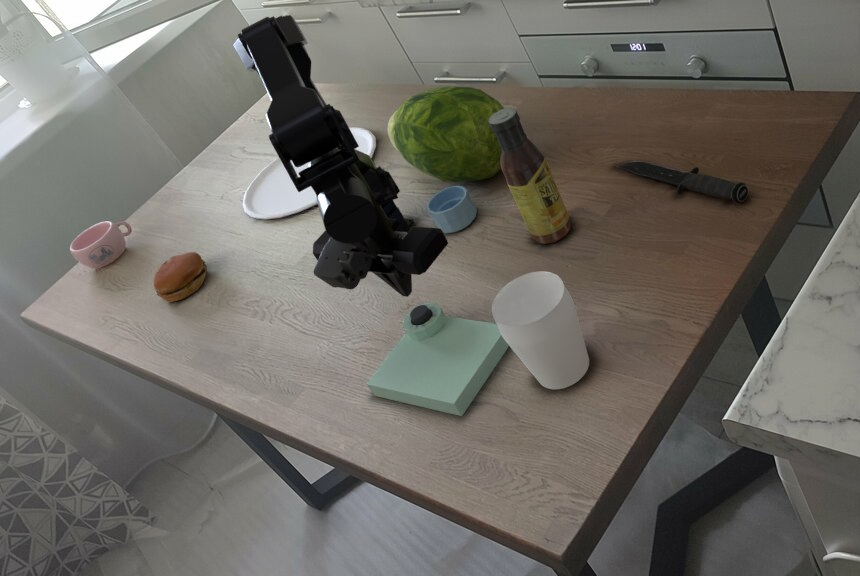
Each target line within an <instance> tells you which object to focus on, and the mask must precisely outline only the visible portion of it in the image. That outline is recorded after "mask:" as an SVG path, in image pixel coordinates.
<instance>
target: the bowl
mask: <svg viewBox="0 0 860 576" xmlns="http://www.w3.org/2000/svg"><path fill="white" fill-rule="evenodd" d="M426 210H427V212H428V214H429V215H430V218H431V219H432V221H433V223H434V224H435V226H436V228H440V229H441V230H442V231H443V233H444V234H449V233H450V234H452V233H456V232H460V231H462V230H464V229H466V228H467V227H468V226H469V225H471V224H472V223H473V221H474V220H475V219H476V217H477V213H478V210H477V208H476V206H475V204H474V202H473V200H472V198H471V196H470V194H469V192H468V190H467V189H466V187H465V186H462V185H452V186H448V187H446V188H443V189H441V190H439V191H438V192H437V193H435V194H433V195H432V196H431V197H430V199H429V200H428V201H427V204H426Z"/></svg>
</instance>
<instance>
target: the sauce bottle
mask: <svg viewBox="0 0 860 576" xmlns="http://www.w3.org/2000/svg"><path fill="white" fill-rule="evenodd" d="M489 124H490V127H491V129H492V130H493V131H494V132H495V134H496V137H497V139H498V141H499V145H500V147H501V148H502V154H501V156H500V157H501V158H500V164H501V169H500V170H501V171H502V173H503V176H504V177H505V180H506V184H507V186H508V188H509V191H510V193H511V195H512V197H513V199H514V201H515V203H516V207H517V208H518V210H519V212H520V215H521V218H522V219H523V221H524V223H525V226H526V228H527V230H528V232H529V234H531V236H532V239H533V240H534V241H535V242H536V243H538V244H541V245H548V244H552V243H556V242H558V241H559V240H561V239H563V238H565V236H567V234H568V233H569V231H571V228H572V224H571V220H570V214H569V211H568V210H567V207H566V205H565V202H564V199H563V197H562V195H561V192H560V190H559V187H558V185H557V183H556V180H555V178H554V175H553V173H552V170H551V168H550V166H549V163H548V161H547V158H546V156H545V155H544V154H543V152H542V151H541V150H540V149H539V148H538V147H537V146H536V145H535V144H534V143H533V142H532V141H531V140H530V139H529V138H528V136H527V133H525V130H524V128H523V125H522V123H521V117H520V115H519V113H518V111H517V110H516V109H515V108H514V107H504V109H502V110H500V111H498V112H496V113H494V114H493V115H492V116H491V117H490V118H489Z"/></svg>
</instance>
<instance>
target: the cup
mask: <svg viewBox="0 0 860 576" xmlns="http://www.w3.org/2000/svg"><path fill="white" fill-rule="evenodd" d="M490 309H491V315H492V317H493V319H494V322H495V324H497V326H498V328H499V331H500V333H501V335H502V337H503V338H504V340H505V341H506V342H507V343H508V345H509V347H510V349H511V350H512V351H513V352H514V353H515V355H516V356H517V357H518V358H519V359H520V361H521V362H522V363H523V364H524V366H525V367H526V368H527V370H528V371H529V372H530V373H531V375H532V376H533V377H534V378H535V380H537V382H538V383H539V384H540V385H541V386H542V387H544V388H546V389H549V390H561V389H566V388H569V387H571V386H573V385H575V384H577V382H579V381H580V380H581V379H582V378H583V377H584V376H585V375H586V373H587V372H588V369H589V366H590V357H589V354H588V350H587V346H586V343H585V339H584V335H583V332H582V328H581V324H580V320H579V316H578V312H577V308H576V305H575V301H574V299H573V297H572V295H571V294H570V292H569V291H568V289H567V287H566V285H565V283H564V281H563V279H562V278H561V277H560V276H559V275H557V274H556V273H553V272H552V271H551V272H550V271H546V270H545V271H543V270H539V271H532V272H527V273H524V274H522V275H520V276H518V277H515V278H513V279H512V280H511V281H509V282H507V283H506V284H505V285H504V286H502V287H501V288H500V290H499V291H498V292H497V293H496V295H495V296H494V298H493V300H492V302H491V308H490Z"/></svg>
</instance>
